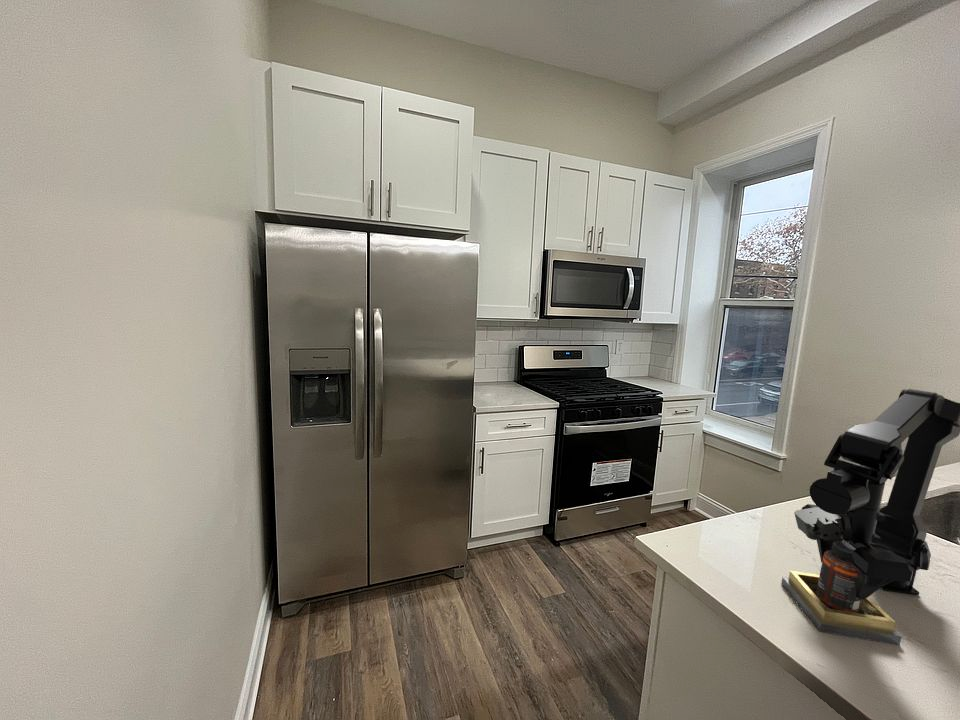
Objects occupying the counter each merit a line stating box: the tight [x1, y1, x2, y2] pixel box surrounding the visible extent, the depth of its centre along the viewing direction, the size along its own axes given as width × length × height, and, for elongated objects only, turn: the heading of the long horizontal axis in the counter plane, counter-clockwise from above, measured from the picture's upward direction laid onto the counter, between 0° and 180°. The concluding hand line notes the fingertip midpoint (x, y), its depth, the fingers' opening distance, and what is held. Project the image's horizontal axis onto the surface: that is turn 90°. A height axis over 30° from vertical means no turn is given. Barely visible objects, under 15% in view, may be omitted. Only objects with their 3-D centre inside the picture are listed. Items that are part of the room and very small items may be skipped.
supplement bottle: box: [817, 541, 861, 613], centre depth 73 cm, size 6×6×11 cm
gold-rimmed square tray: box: [780, 570, 903, 646], centre depth 74 cm, size 12×12×4 cm
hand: (841, 580), depth 73 cm, fingers open, 9 cm apart
